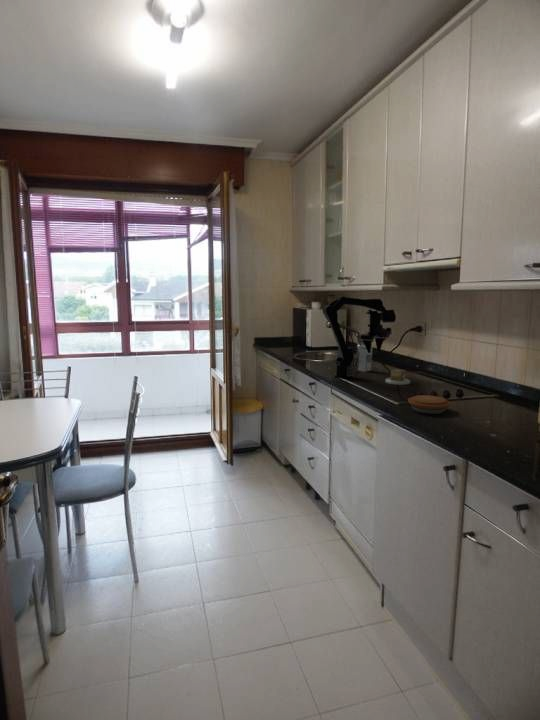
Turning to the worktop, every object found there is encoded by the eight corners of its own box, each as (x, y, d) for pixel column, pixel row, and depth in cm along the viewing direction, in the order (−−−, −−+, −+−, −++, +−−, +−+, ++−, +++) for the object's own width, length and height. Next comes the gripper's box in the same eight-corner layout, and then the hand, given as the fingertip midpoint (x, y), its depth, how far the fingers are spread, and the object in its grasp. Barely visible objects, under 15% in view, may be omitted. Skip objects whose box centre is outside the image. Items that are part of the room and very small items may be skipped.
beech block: (399, 381, 221) (400, 371, 220) (390, 380, 224) (391, 370, 223) (404, 380, 224) (405, 370, 223) (395, 378, 228) (396, 368, 227)
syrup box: (363, 369, 261) (363, 344, 258) (371, 370, 256) (372, 345, 254) (357, 370, 257) (358, 345, 254) (365, 372, 252) (366, 346, 250)
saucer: (402, 385, 216) (402, 383, 216) (380, 382, 224) (380, 380, 224) (414, 382, 224) (414, 380, 224) (393, 379, 233) (393, 376, 233)
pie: (437, 404, 181) (438, 392, 180) (457, 415, 166) (458, 402, 165) (400, 405, 179) (401, 393, 179) (417, 416, 164) (418, 403, 163)
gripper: (378, 324, 225) (377, 355, 227) (397, 322, 238) (396, 351, 240) (360, 323, 232) (359, 353, 235) (379, 321, 245) (378, 349, 248)
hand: (374, 352), depth 239 cm, fingers open, 9 cm apart
